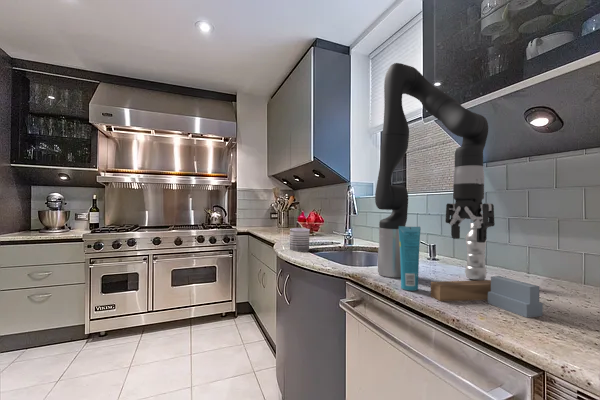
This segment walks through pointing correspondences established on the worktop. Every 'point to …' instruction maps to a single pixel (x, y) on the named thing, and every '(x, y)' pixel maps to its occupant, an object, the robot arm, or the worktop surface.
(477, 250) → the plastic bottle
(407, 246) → the tube
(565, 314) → the worktop surface
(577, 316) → the worktop surface
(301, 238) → the can
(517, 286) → the ridge
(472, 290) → the walnut bar
